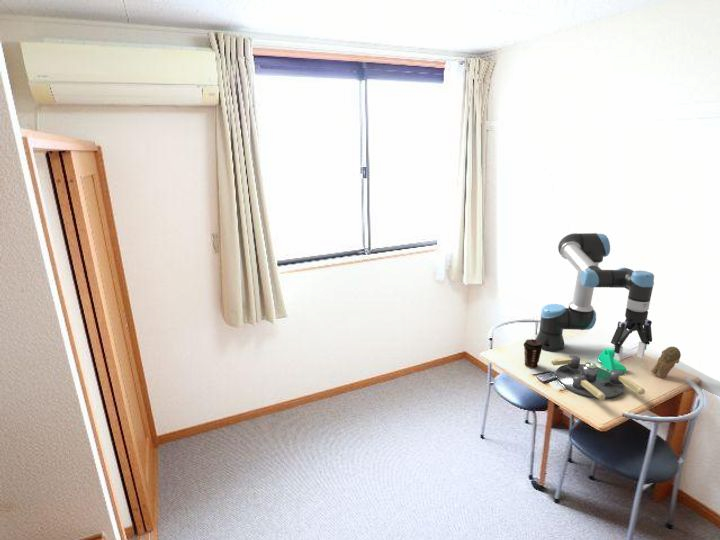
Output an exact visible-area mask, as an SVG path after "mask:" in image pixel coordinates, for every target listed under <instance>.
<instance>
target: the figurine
mask: <svg viewBox="0 0 720 540" xmlns="http://www.w3.org/2000/svg"><path fill="white" fill-rule="evenodd" d="M681 357H682V355H681V350H680V349H679V348H678V347H676V346H669V347H667V348H665V349H663V350H662V351H661V355H660V357H658V359H657V361H656V364H655V366H654V367H653V368H652V369H651V371H650V373H652V374H655V375H656V376H657V377H658V378H667V376H668V374H669V373H670V372H671V370H672V369H673V368H674V367H675V365H676V364H679V363H680V359H681Z"/></svg>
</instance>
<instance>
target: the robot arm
mask: <svg viewBox="0 0 720 540" xmlns="http://www.w3.org/2000/svg"><path fill="white" fill-rule="evenodd" d="M557 250H558V253H559V255H560V256H561V257H562V258H563V259H564V260H567V261H569V263H570V264H571V265H572V267H574V269H576V271H577V276H576V282H575V286H574V287H575V288H574V293H573V297H572V299H573V300H572V302H570V303H569V304H568V307H566V306H564V305H562V304H557V303H550V304H549V303H548V304H546V305H544V306H543V307H542V308H541V312H540V313H541V314H540V322H539V331H538V333H537V334H536V335H537V336H536V338H535V339H534V340H538V341H539V342H541V345H542V349H541V350H544V351H546V352H561V351H563V350H564V349H565V346H566V345H565V340H564V335H563V331H564V330H573V331H574V330H575V331H578V330H579V331H588V330H592V329H593V328H594V327H595V325H596V322H597V313H596V311H595V309H594V307H593V306H592V300H593V294H594V289H595V288H616V289H617V288H618V289H620V288H622V289H623V288H624V289H626V290H628V294H627V302H626V307H625V312H624V313H625V314H624V316H625V320H624V321H618V322H617V327H616V330H615V332H614V334H613V336H612V339H611V341H610V343H611V344H612V345H613V346H614V348H613V349H614V352H615V356H614V357H613V358H614V359H616V360H617V361H618V362H621V360H622V356H623V355H622V354H623V349H624V347H623V346H622V345H623V344H624V342H625V341H626V340H627V338H628V337H629V335H630V334H632V333H633V332H635V331H636V332H637V334H638V336H639V339H640V341H638V343H637V344H638V346H637V351H636V356H637V357H638V358H640V359H641V360H642V359H644V358H645V357H644V356H645V351H646V350H647V346H648V345H650V343H652V342H653V335H652V323H653V322H652V320H649V319H648V316H649V315H648V314H649V311H648V310H649V309H650V304H651V298H652V293H653V289H654V286H655V275H654V274H653V273H652V272H650V271H645V270H633V269H630V268H628V267H620V268H618V269H601V268H600V267H599V264H601V263H602V262H603V260H604V258H605V257H608V256H609V255H610V252H611V242H610V240H609V238H608V236H607V235H606V234H605V233H598V232H597V233H596V232H593V233H588V232H587V233H583V232H582V233H575V232H572V233H569V234H567V235H566V236H564V237H562V239H561V240H560V241H559V242H558V245H557Z"/></svg>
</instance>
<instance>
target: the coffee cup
mask: <svg viewBox="0 0 720 540" xmlns="http://www.w3.org/2000/svg"><path fill="white" fill-rule="evenodd" d="M523 347H524V348H523V349H524V366H525V367H526V368H529V369H537V368H538V367H539V364H538V363H539V361H540V357H541V354H542V350H543V349H542V345H541V342H539V341H538V340H535V339H526V340H525V342H524V343H523Z"/></svg>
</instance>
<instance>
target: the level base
mask: <svg viewBox="0 0 720 540" xmlns="http://www.w3.org/2000/svg"><path fill="white" fill-rule="evenodd" d="M576 374H579V375H583V376H585V377H586V381H588V382H589V383H590V384H592V385H593V386H594V387H596V388H597V389H598V390H600V391H601V392H602V393H604V394H605V399H604V400H613V399H617V398H619V397H620V396H622V394H623V392H624V389H625V387H624V386H625V384H623V383H622V384H620V385H618V384H613V383H611V382H610V374H611V371H610V370H606V369H605V368H601V367H598V366H597V364H596V363H593V362H591V361H589V362H585V363H584V364H583V363H580V365H579V368H578V369H573V368H570V367H569V366H568V364H564V365H560V366H559V367H558V368H557V369H556V371H555V377H556V376H557V379H558V381H559V382H560V383H561V384H563V385H564V386H565V387H566V390H567V391H569V392H571V393H573V394H575V395H578V396H582V397H584V398H589V399H593V400H596V399H597V400H599V399H598V398H597V397H595V396H594V395H593V394H592V393H590V392H589V391H588V390H587V389H585V388H584V389H577V388H575V387H573V377H574V375H576ZM558 381H557V382H558Z"/></svg>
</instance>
